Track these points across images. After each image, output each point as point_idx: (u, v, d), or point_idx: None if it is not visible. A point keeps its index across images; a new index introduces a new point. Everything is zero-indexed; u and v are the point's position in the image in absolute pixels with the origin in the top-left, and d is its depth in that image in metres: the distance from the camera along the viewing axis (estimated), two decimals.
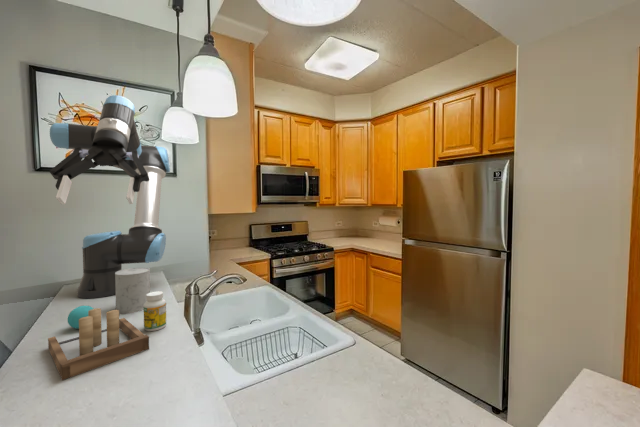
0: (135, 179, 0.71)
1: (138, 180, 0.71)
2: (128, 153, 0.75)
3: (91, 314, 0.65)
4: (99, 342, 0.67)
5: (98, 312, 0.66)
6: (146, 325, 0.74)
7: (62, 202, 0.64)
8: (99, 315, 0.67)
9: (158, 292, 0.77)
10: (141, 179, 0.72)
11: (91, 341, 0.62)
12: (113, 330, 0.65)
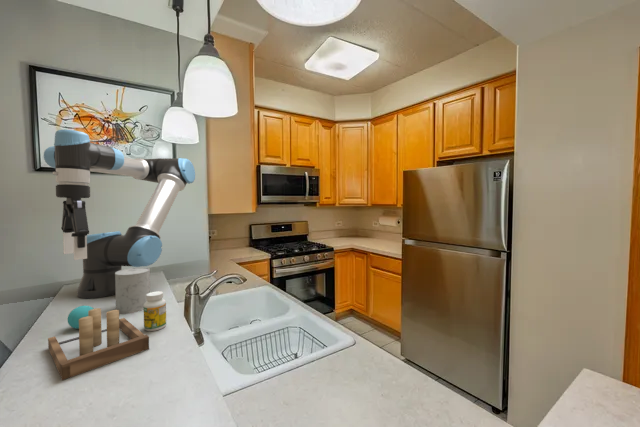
0: (77, 237, 0.76)
1: (78, 238, 0.75)
2: None
3: (91, 314, 0.65)
4: (99, 342, 0.67)
5: (98, 312, 0.66)
6: (146, 325, 0.74)
7: None
8: (99, 315, 0.67)
9: (158, 292, 0.77)
10: (81, 235, 0.75)
11: (91, 341, 0.62)
12: (113, 330, 0.65)
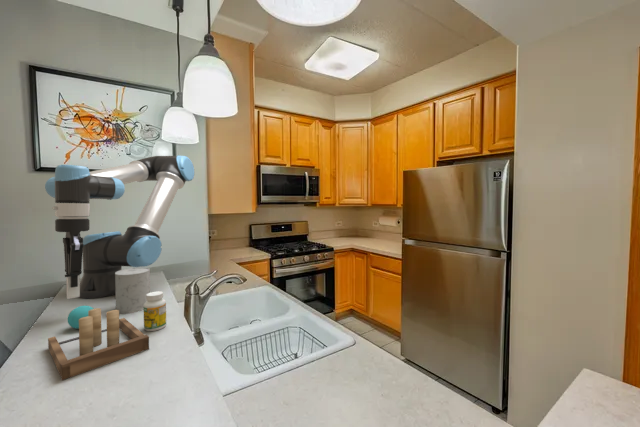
0: None
1: (71, 278, 0.79)
2: (74, 242, 0.78)
3: (91, 314, 0.65)
4: (99, 342, 0.67)
5: (98, 312, 0.66)
6: (146, 325, 0.74)
7: (76, 296, 0.82)
8: (99, 315, 0.67)
9: (158, 292, 0.77)
10: (73, 275, 0.79)
11: (91, 341, 0.62)
12: (113, 330, 0.65)
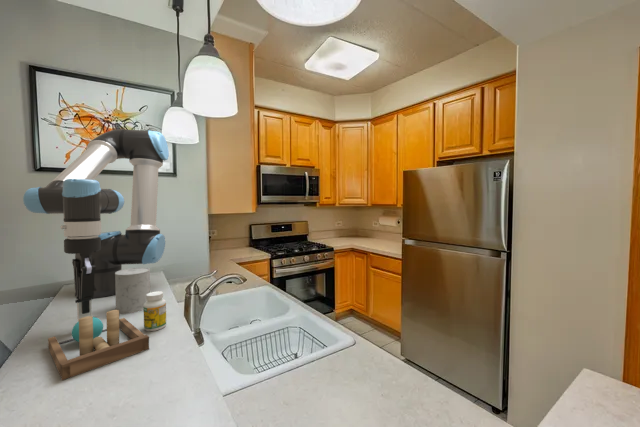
0: (81, 300, 0.73)
1: (82, 304, 0.72)
2: (85, 264, 0.70)
3: None
4: None
5: None
6: (146, 325, 0.74)
7: None
8: None
9: (158, 292, 0.77)
10: (85, 301, 0.72)
11: (91, 341, 0.62)
12: (113, 330, 0.65)
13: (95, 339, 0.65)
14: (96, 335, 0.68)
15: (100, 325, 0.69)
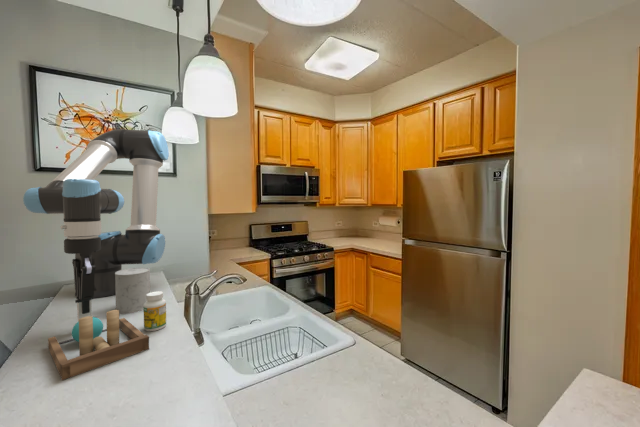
0: None
1: (82, 304, 0.72)
2: (85, 264, 0.70)
3: None
4: None
5: None
6: (146, 325, 0.74)
7: None
8: None
9: (158, 292, 0.77)
10: (85, 301, 0.72)
11: (91, 341, 0.62)
12: (113, 330, 0.65)
13: (96, 339, 0.65)
14: (96, 335, 0.68)
15: (100, 325, 0.69)
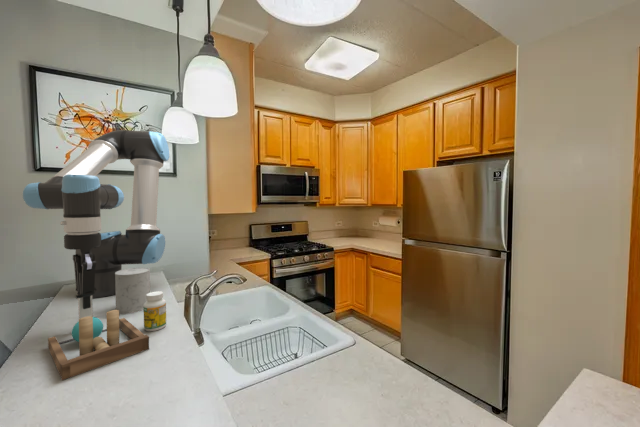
0: None
1: (83, 299, 0.72)
2: (85, 260, 0.70)
3: None
4: None
5: None
6: (146, 325, 0.74)
7: None
8: None
9: (158, 292, 0.77)
10: (86, 296, 0.72)
11: (91, 341, 0.62)
12: (113, 330, 0.65)
13: (95, 339, 0.65)
14: (96, 335, 0.68)
15: (100, 325, 0.69)
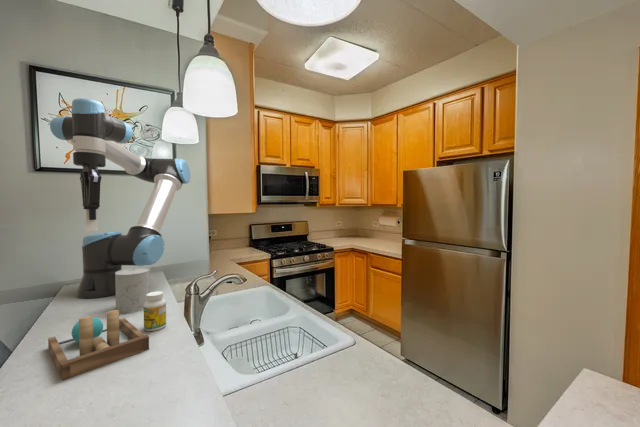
0: None
1: (90, 211, 0.82)
2: (92, 174, 0.80)
3: None
4: None
5: None
6: (146, 325, 0.74)
7: None
8: None
9: (158, 292, 0.77)
10: (92, 208, 0.82)
11: (91, 341, 0.62)
12: (113, 330, 0.65)
13: (95, 339, 0.65)
14: (96, 335, 0.68)
15: (100, 325, 0.69)
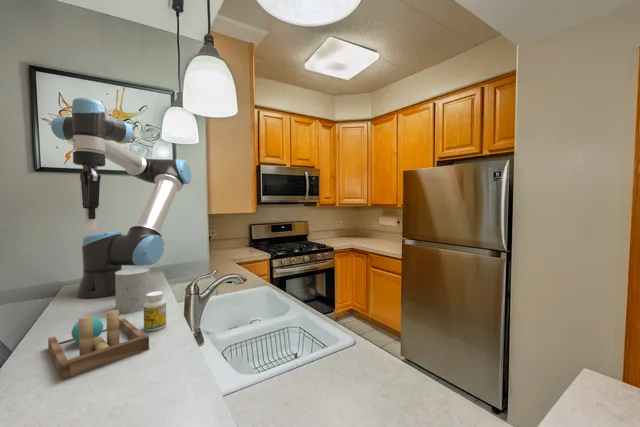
0: (88, 207, 0.82)
1: (89, 210, 0.82)
2: (91, 173, 0.80)
3: None
4: None
5: None
6: (146, 325, 0.74)
7: None
8: None
9: (158, 292, 0.77)
10: (91, 207, 0.82)
11: (91, 341, 0.62)
12: (113, 330, 0.65)
13: (95, 339, 0.65)
14: (96, 335, 0.68)
15: (100, 325, 0.69)
